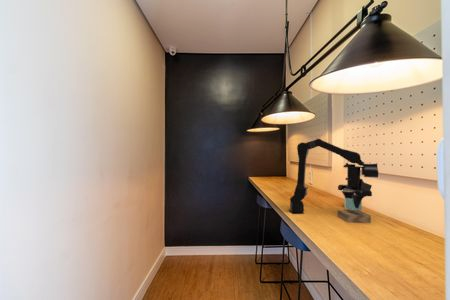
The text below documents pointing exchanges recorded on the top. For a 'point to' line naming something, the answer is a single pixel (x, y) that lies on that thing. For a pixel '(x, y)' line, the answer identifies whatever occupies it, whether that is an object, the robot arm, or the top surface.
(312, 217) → the top surface
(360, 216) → the walnut block
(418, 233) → the top surface
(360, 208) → the teal cube
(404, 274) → the top surface
